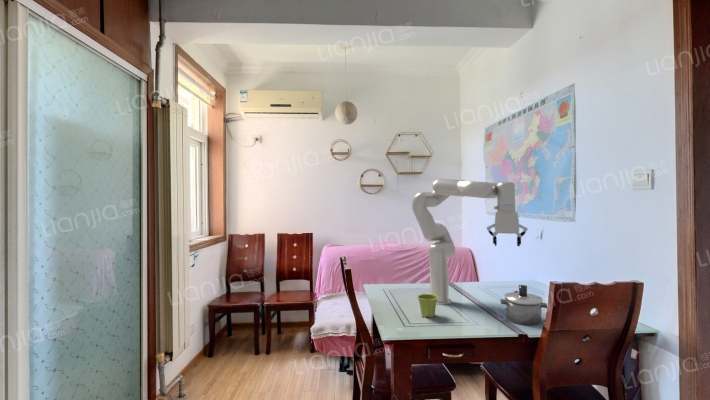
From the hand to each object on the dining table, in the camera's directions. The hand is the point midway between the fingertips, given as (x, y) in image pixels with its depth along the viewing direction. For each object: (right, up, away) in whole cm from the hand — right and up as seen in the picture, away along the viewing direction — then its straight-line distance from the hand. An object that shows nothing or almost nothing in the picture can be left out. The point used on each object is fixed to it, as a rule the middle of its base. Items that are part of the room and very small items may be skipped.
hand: (506, 245), depth 153 cm
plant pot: (-36, -33, +1) cm, 49 cm away
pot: (+5, -32, -6) cm, 33 cm away
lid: (+4, -23, -6) cm, 24 cm away
